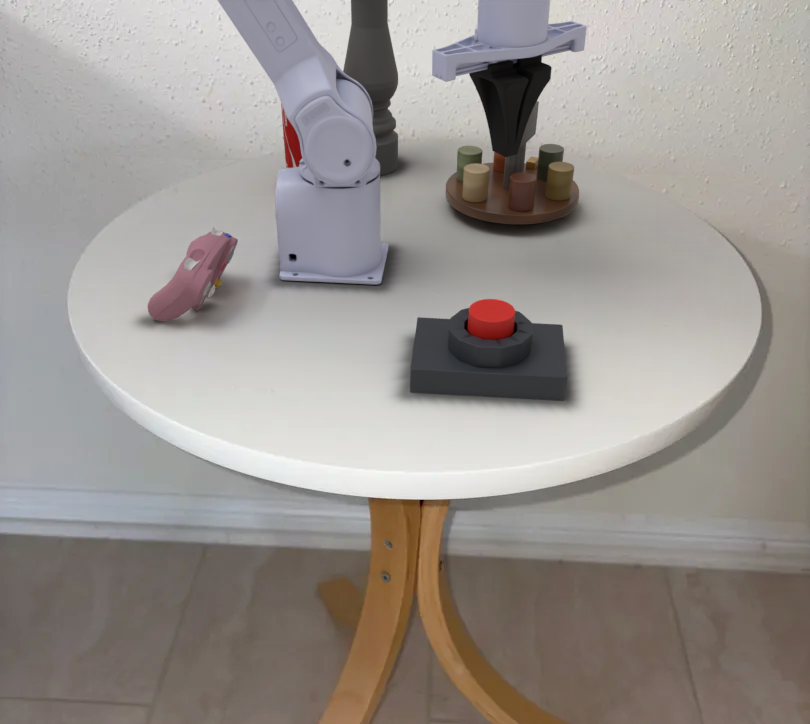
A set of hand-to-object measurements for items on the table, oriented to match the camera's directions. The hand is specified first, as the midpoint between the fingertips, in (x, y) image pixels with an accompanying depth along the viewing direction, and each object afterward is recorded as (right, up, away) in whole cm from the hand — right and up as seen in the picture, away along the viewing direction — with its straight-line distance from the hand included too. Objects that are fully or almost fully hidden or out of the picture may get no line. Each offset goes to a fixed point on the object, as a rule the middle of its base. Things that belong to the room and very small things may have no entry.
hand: (504, 152), depth 81 cm
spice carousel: (+2, +2, +16) cm, 16 cm away
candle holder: (-13, +9, +25) cm, 29 cm away
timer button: (-2, -18, -9) cm, 20 cm away
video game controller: (-27, -13, +1) cm, 30 cm away
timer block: (-2, -21, -7) cm, 22 cm away
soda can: (-19, +5, +21) cm, 29 cm away
